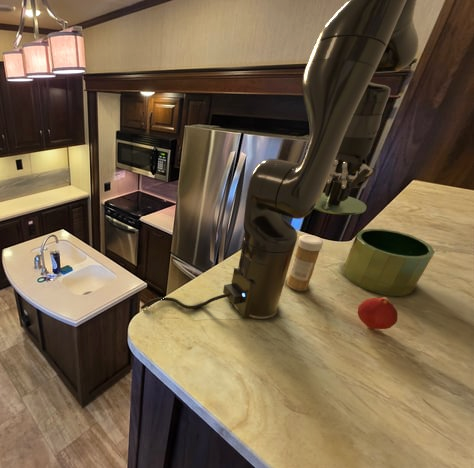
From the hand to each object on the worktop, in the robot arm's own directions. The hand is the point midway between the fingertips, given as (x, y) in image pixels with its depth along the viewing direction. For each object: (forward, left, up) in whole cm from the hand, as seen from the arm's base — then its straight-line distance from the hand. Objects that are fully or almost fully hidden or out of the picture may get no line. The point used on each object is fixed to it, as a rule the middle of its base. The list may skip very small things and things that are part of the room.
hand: (334, 198), depth 79 cm
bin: (0, -17, -15) cm, 23 cm away
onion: (-16, -29, -15) cm, 36 cm away
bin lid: (0, 0, -2) cm, 2 cm away
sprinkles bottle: (-20, -14, -15) cm, 29 cm away
